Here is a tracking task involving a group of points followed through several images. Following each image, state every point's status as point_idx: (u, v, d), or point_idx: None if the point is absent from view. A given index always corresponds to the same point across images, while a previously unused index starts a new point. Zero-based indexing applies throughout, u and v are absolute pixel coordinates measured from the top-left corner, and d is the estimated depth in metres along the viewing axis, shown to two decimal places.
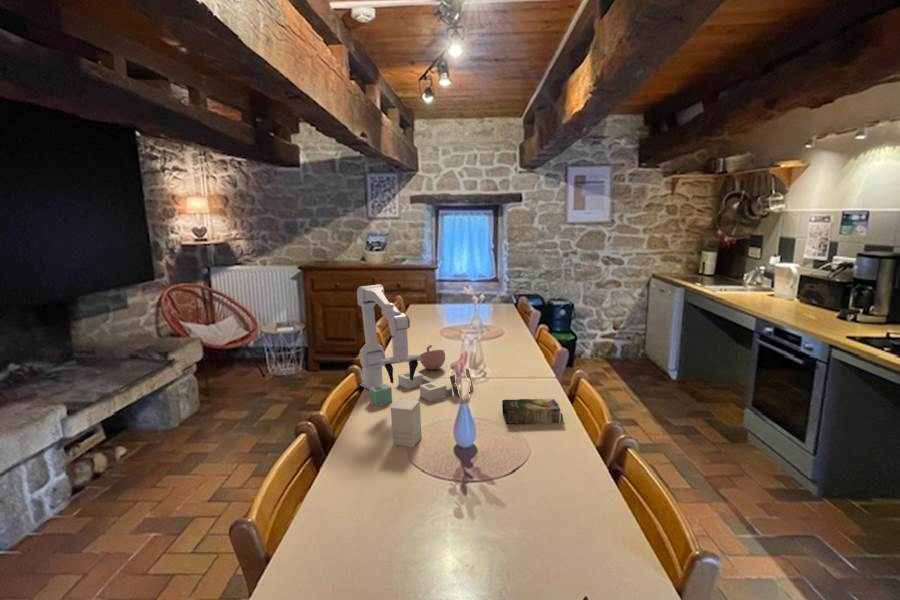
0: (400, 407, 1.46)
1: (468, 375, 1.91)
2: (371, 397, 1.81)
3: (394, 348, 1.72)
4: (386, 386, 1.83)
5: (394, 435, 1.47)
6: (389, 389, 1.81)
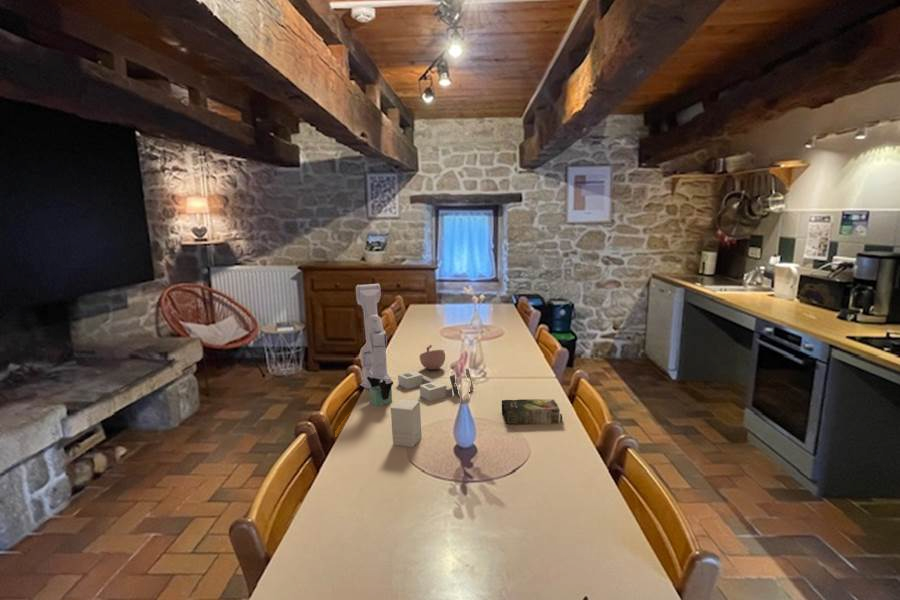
0: (400, 407, 1.46)
1: (468, 375, 1.91)
2: (371, 397, 1.81)
3: None
4: None
5: (394, 435, 1.47)
6: None
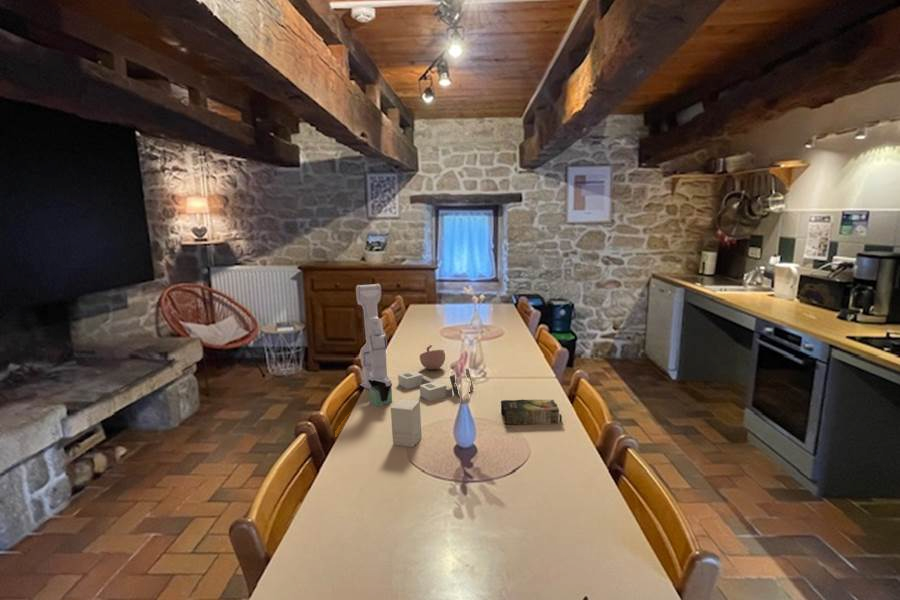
0: (401, 407, 1.46)
1: (468, 375, 1.91)
2: (371, 397, 1.81)
3: None
4: None
5: (394, 435, 1.47)
6: None
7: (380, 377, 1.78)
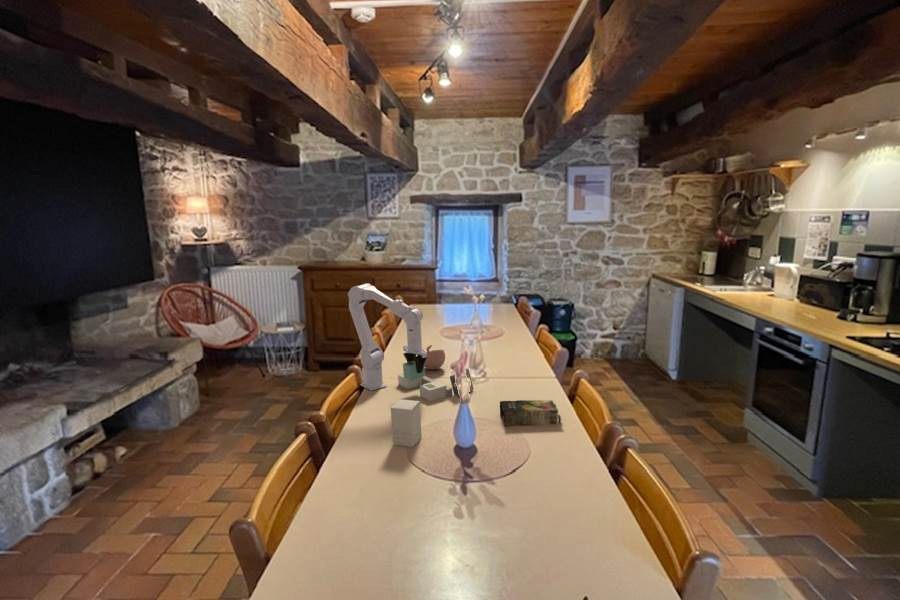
0: (400, 407, 1.46)
1: (468, 375, 1.91)
2: (405, 372, 1.89)
3: None
4: None
5: (394, 435, 1.47)
6: None
7: (416, 350, 1.86)
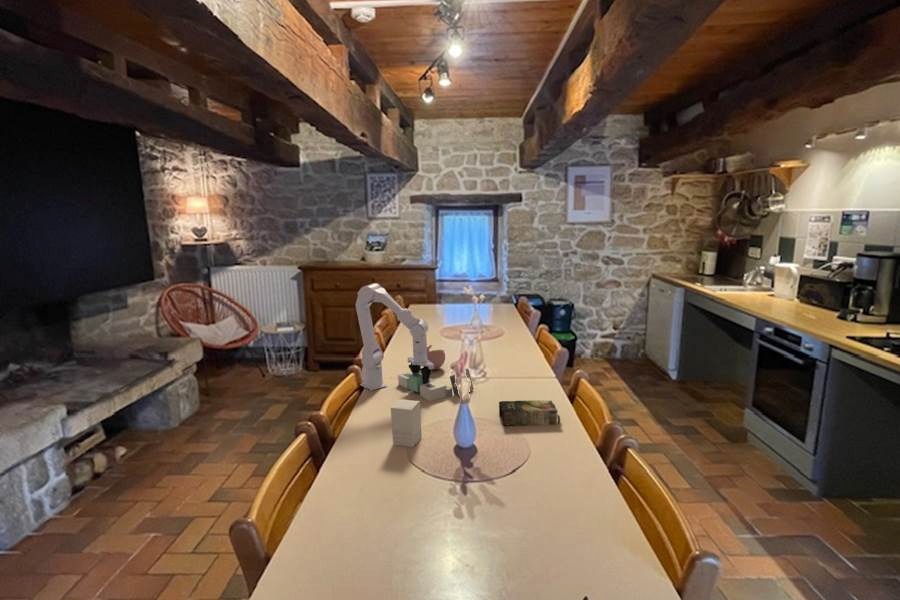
0: (400, 407, 1.46)
1: (468, 375, 1.91)
2: (411, 384, 1.91)
3: None
4: None
5: (394, 435, 1.47)
6: None
7: (422, 361, 1.89)
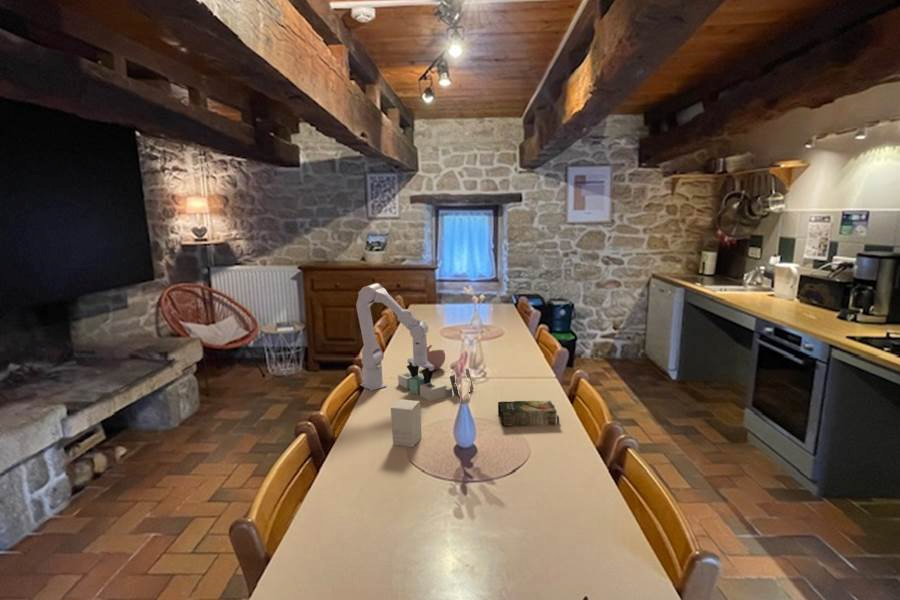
0: (400, 407, 1.46)
1: (468, 375, 1.91)
2: (411, 386, 1.91)
3: None
4: None
5: (394, 435, 1.47)
6: None
7: (422, 362, 1.89)
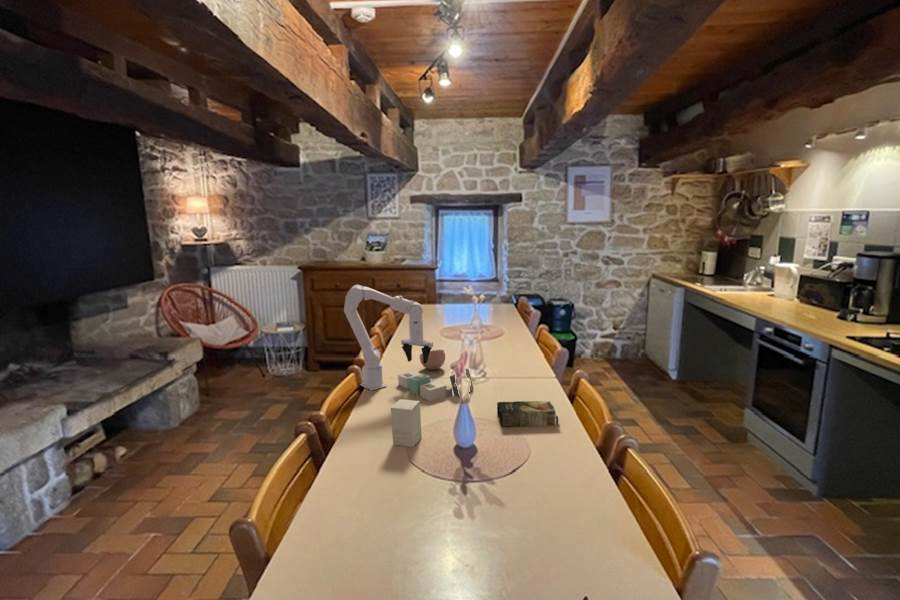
0: (401, 407, 1.46)
1: (468, 375, 1.91)
2: (411, 386, 1.91)
3: None
4: (424, 375, 1.94)
5: (394, 435, 1.47)
6: (428, 378, 1.92)
7: (420, 341, 1.95)
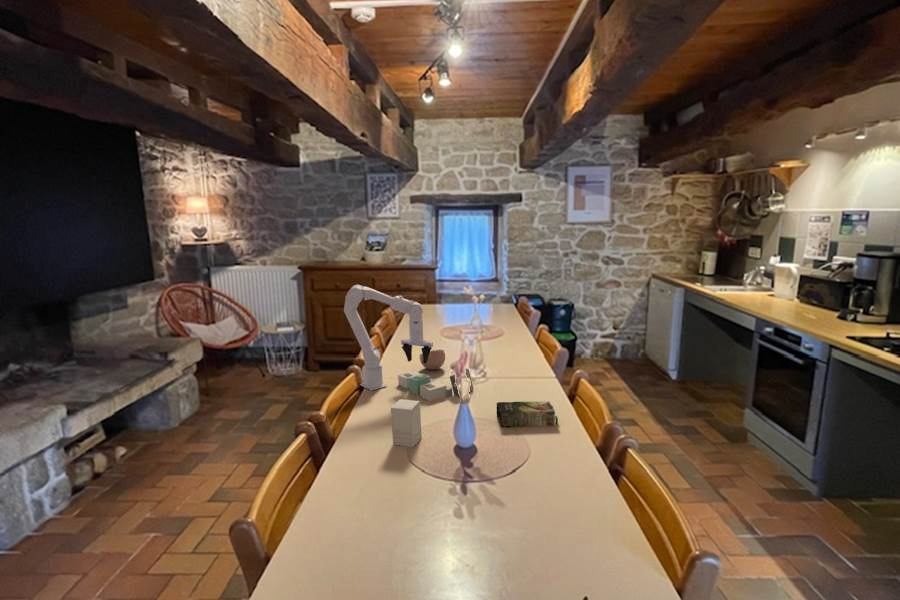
0: (401, 407, 1.46)
1: (468, 375, 1.91)
2: (411, 386, 1.91)
3: None
4: (424, 375, 1.94)
5: (394, 435, 1.47)
6: (428, 378, 1.92)
7: (420, 341, 1.95)
